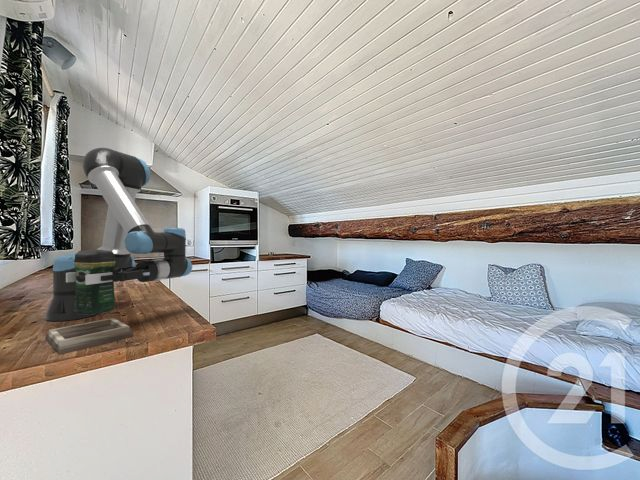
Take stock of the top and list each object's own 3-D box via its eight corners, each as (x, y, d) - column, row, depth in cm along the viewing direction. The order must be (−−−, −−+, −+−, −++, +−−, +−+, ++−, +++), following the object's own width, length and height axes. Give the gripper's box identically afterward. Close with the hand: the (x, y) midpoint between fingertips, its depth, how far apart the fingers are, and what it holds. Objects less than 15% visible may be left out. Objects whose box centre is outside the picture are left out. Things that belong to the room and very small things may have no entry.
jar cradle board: (45, 338, 79) (45, 328, 79) (112, 324, 92) (112, 316, 92) (59, 354, 68) (59, 343, 68) (132, 336, 81) (133, 327, 81)
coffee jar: (120, 310, 83) (121, 249, 83) (92, 317, 76) (93, 250, 75) (96, 307, 86) (97, 248, 86) (67, 314, 78) (68, 249, 78)
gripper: (173, 283, 94) (100, 295, 72) (131, 278, 101) (54, 289, 80) (173, 261, 94) (100, 267, 72) (131, 258, 101) (54, 263, 80)
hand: (76, 278), depth 76 cm, fingers closed on coffee jar, 8 cm apart
